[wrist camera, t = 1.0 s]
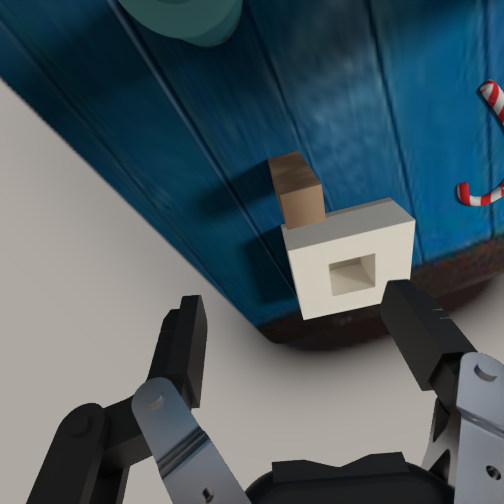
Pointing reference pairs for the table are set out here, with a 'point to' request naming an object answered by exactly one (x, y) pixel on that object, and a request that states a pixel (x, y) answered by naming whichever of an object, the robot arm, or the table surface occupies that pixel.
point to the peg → (297, 190)
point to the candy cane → (500, 104)
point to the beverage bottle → (188, 18)
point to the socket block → (349, 256)
